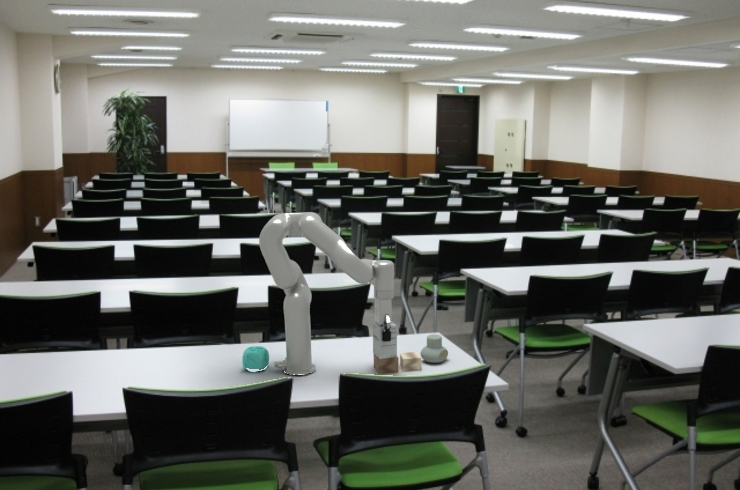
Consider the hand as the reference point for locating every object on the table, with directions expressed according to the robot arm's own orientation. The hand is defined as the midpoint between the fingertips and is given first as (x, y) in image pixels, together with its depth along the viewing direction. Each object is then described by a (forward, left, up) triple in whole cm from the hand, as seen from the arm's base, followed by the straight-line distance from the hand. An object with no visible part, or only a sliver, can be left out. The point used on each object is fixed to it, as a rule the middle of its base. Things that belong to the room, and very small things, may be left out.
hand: (383, 337), depth 275 cm
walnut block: (+1, 0, -13) cm, 13 cm away
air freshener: (+21, +5, -13) cm, 26 cm away
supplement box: (0, 0, -7) cm, 7 cm away
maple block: (+10, 0, -13) cm, 17 cm away
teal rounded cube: (-48, +13, -13) cm, 51 cm away
